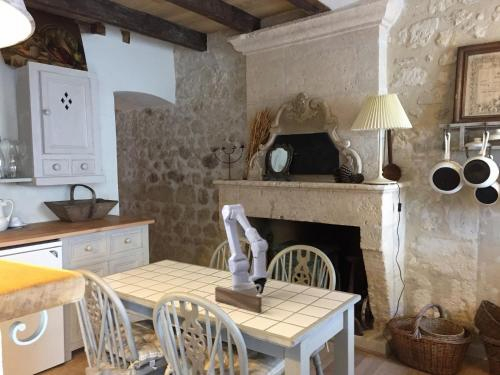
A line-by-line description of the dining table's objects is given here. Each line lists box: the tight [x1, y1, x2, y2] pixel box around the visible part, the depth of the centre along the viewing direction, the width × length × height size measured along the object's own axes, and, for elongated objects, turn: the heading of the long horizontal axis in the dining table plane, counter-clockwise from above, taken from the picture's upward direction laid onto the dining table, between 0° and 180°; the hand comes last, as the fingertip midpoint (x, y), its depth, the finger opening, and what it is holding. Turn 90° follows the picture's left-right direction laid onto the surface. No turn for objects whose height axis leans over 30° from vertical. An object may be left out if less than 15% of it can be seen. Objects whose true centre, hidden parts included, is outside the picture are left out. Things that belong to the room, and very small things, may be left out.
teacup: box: [233, 282, 262, 296], centre depth 184 cm, size 14×11×8 cm
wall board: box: [214, 286, 262, 314], centre depth 178 cm, size 2×26×7 cm, turn 51°
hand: (260, 293), depth 191 cm, fingers closed
